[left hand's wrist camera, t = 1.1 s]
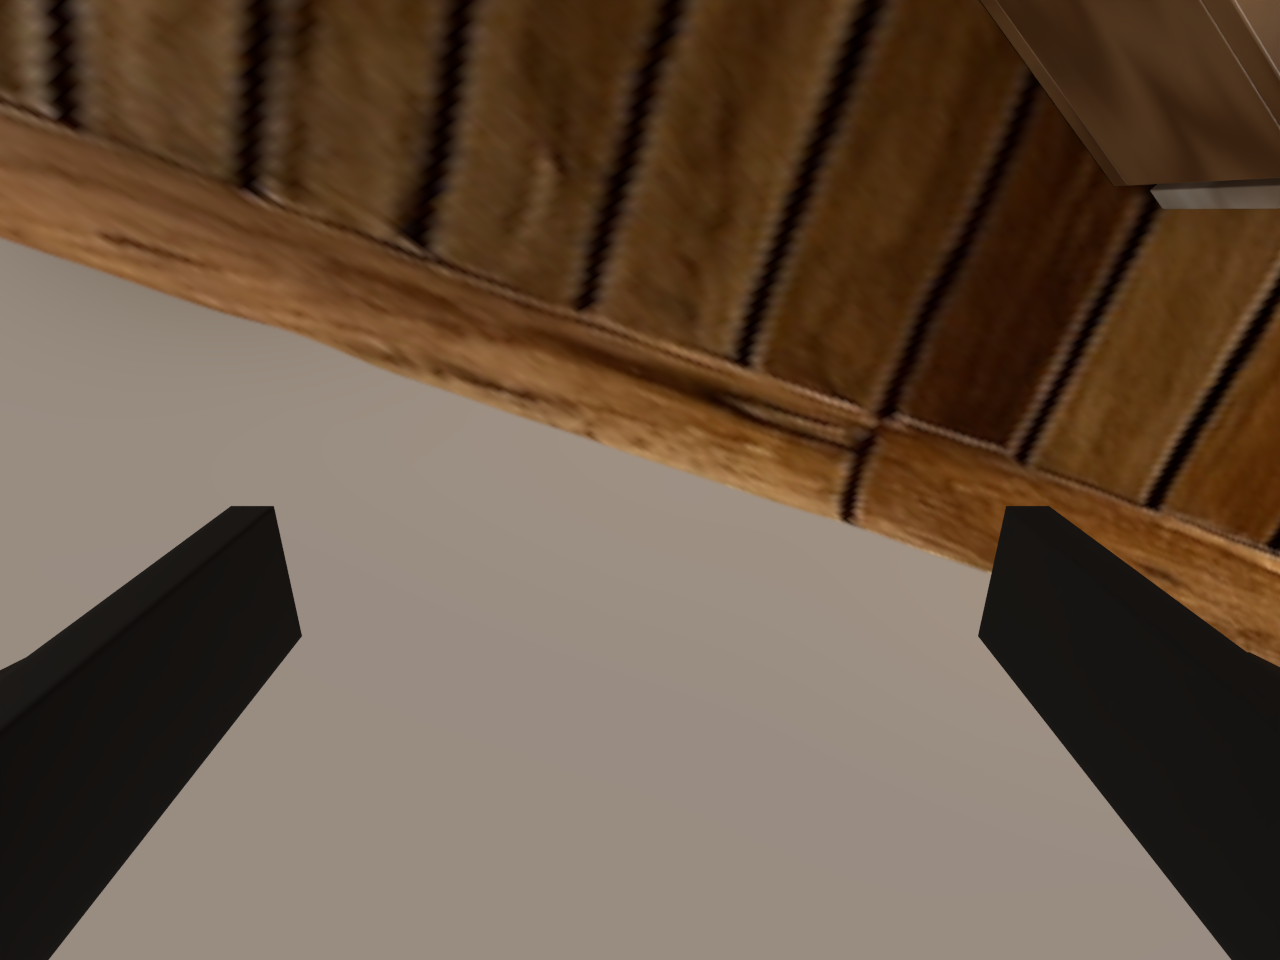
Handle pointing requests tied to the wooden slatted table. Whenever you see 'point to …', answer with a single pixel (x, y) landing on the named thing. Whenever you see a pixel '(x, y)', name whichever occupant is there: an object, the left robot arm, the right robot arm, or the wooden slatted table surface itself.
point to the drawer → (1220, 194)
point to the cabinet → (1159, 82)
